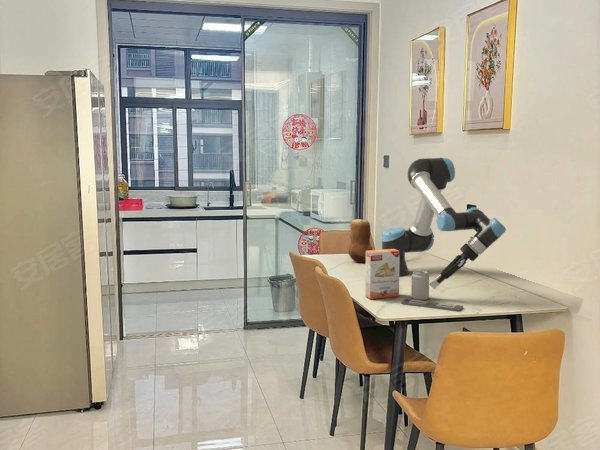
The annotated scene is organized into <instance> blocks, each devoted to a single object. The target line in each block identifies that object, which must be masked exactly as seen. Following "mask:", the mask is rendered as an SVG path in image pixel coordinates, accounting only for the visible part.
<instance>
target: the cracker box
mask: <svg viewBox="0 0 600 450" xmlns="http://www.w3.org/2000/svg"><path fill="white" fill-rule="evenodd" d="M399 264H400V251H398V250H396V249H385V250H382V249H373V250H370V251H366V262H365V297H366V298H368V299H369V300H376V299H377V300H378V299H387V298H389V299H391V298H398V297H399V296H400V276H399Z"/></svg>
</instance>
